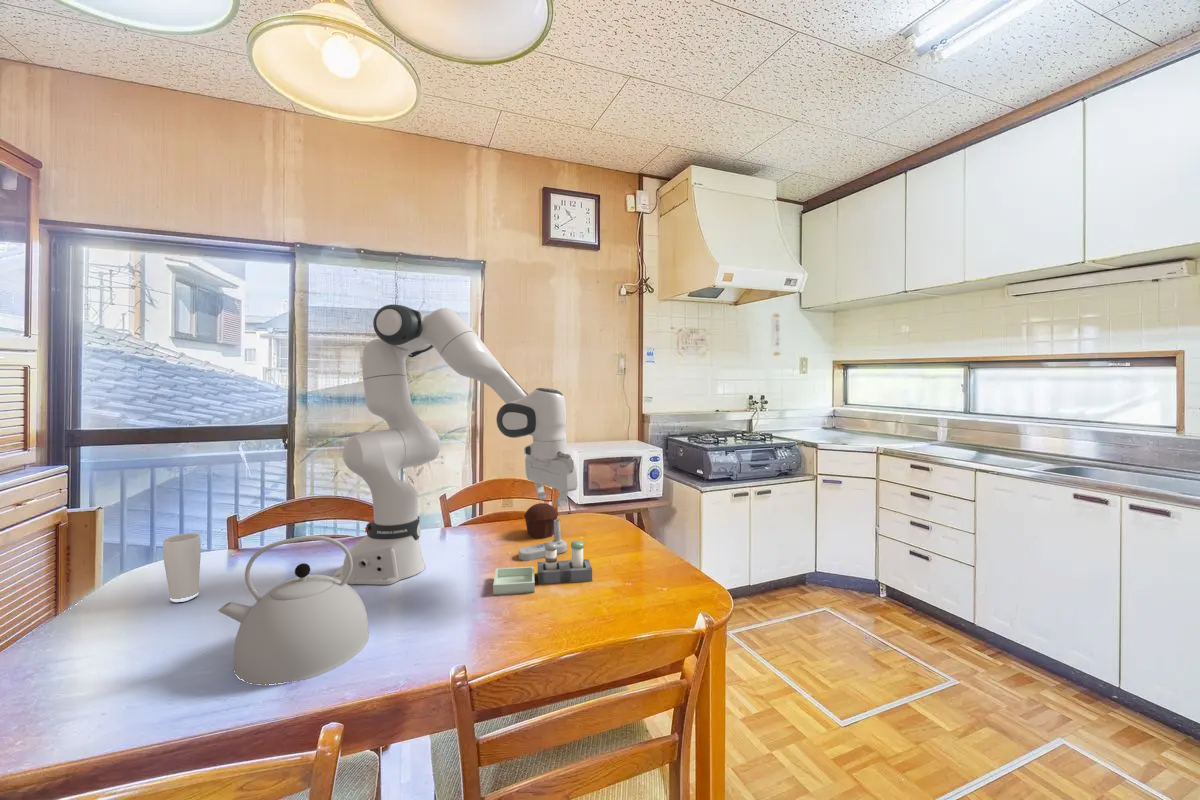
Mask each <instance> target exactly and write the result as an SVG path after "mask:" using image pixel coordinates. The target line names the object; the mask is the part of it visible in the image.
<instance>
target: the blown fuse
mask: <svg viewBox="0 0 1200 800" xmlns="http://www.w3.org/2000/svg"><path fill="white" fill-rule="evenodd" d="M544 543H545V557H544V559H545V560H544V562H545V570H556V569H557V561H558V554H557V548H558V547H557V543H555V542H551V541H548V543H546V542H544Z"/></svg>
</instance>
